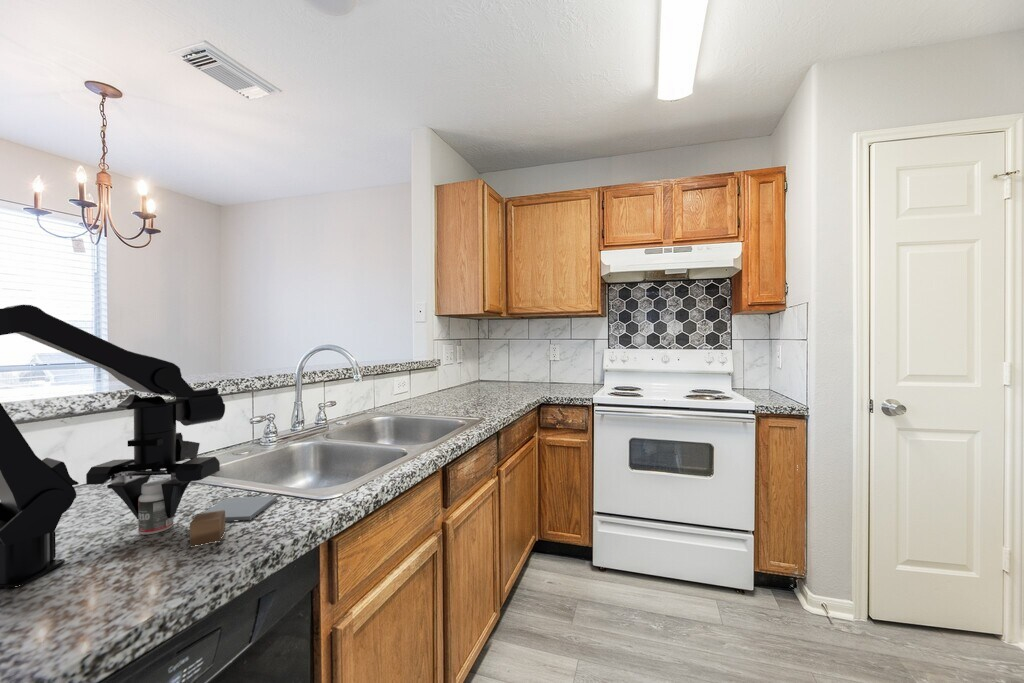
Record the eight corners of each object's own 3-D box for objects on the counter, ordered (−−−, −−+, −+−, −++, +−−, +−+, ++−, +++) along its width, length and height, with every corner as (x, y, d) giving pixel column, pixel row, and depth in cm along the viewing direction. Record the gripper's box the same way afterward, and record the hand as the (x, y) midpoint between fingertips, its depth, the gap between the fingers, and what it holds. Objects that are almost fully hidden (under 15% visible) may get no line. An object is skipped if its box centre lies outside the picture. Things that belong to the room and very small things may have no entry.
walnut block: (219, 542, 68) (219, 518, 68) (190, 548, 66) (189, 523, 66) (225, 532, 71) (225, 510, 72) (197, 537, 70) (197, 514, 70)
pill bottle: (133, 531, 72) (133, 484, 72) (165, 521, 76) (165, 476, 76) (145, 537, 70) (145, 488, 70) (178, 526, 74) (178, 480, 74)
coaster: (250, 520, 76) (250, 516, 76) (193, 522, 75) (193, 518, 75) (276, 499, 86) (276, 496, 86) (226, 501, 85) (226, 497, 85)
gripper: (236, 420, 82) (237, 498, 82) (137, 423, 80) (138, 502, 80) (198, 433, 71) (199, 523, 71) (82, 436, 69) (83, 528, 69)
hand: (156, 517), depth 73 cm, fingers closed on pill bottle, 5 cm apart
